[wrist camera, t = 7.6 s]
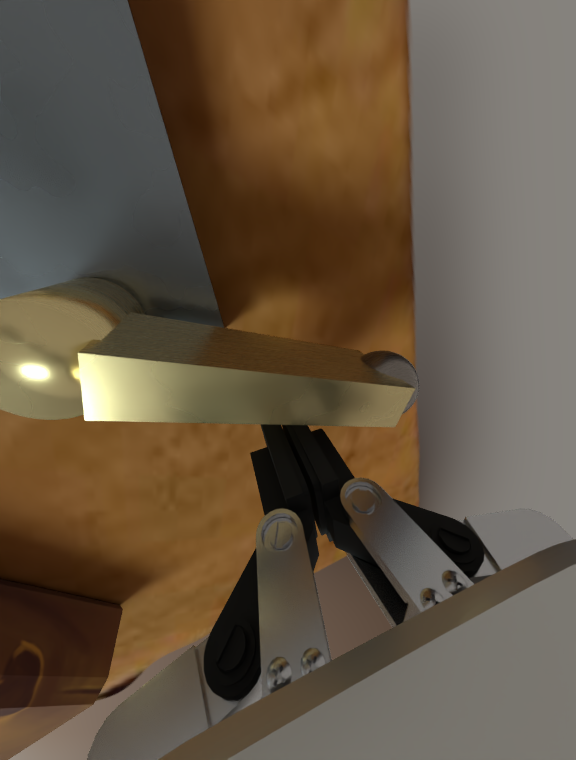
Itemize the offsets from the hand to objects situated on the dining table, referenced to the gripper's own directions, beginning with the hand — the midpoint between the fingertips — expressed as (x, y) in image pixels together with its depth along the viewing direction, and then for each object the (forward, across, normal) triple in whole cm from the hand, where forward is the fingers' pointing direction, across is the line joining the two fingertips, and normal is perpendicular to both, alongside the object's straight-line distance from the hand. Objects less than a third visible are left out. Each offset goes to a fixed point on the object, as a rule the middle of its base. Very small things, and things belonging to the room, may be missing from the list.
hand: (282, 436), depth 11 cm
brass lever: (+2, 0, -4) cm, 4 cm away
